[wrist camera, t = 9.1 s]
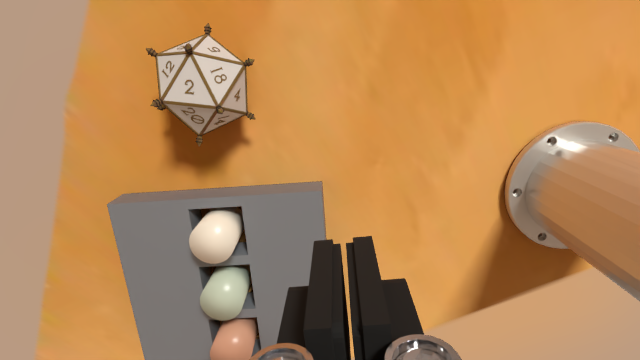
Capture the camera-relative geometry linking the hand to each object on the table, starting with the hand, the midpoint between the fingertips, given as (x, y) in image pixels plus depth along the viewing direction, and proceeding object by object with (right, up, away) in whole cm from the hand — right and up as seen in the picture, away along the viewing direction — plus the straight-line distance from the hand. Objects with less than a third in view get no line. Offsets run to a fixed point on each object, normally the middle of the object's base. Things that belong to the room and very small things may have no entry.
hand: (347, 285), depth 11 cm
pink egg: (-9, -13, +31) cm, 35 cm away
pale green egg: (-10, -7, +29) cm, 32 cm away
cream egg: (-10, -1, +28) cm, 30 cm away
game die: (-10, +12, +24) cm, 29 cm away
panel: (-10, -7, +30) cm, 32 cm away
